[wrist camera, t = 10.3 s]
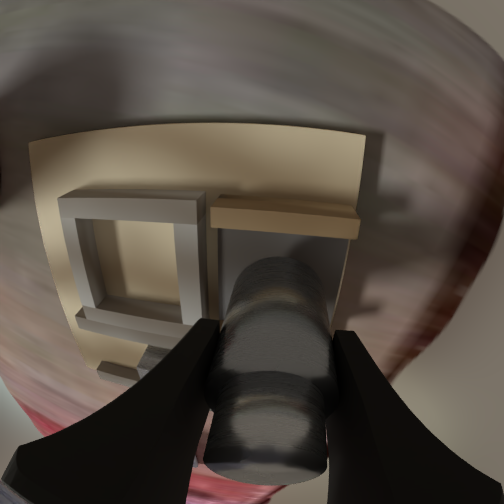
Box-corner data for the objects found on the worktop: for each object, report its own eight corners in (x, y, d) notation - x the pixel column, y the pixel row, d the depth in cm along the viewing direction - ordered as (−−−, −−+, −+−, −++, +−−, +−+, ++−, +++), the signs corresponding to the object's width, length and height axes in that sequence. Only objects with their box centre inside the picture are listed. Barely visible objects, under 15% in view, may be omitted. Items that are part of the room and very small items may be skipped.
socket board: (307, 394, 19) (307, 427, 16) (92, 358, 20) (77, 382, 18) (359, 134, 11) (378, 139, 9) (39, 139, 13) (5, 149, 10)
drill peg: (315, 334, 12) (323, 490, 6) (232, 326, 12) (194, 478, 6) (332, 261, 11) (368, 437, 4) (234, 251, 11) (174, 422, 5)
